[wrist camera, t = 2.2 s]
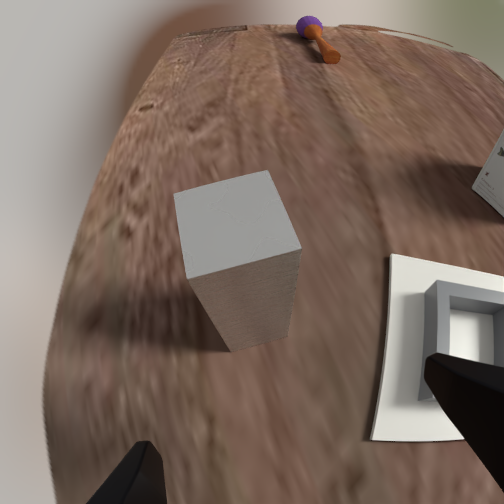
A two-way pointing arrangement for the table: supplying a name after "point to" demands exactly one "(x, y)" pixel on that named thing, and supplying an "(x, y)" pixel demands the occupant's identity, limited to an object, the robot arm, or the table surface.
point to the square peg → (240, 257)
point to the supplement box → (493, 177)
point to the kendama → (317, 37)
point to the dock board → (433, 341)
